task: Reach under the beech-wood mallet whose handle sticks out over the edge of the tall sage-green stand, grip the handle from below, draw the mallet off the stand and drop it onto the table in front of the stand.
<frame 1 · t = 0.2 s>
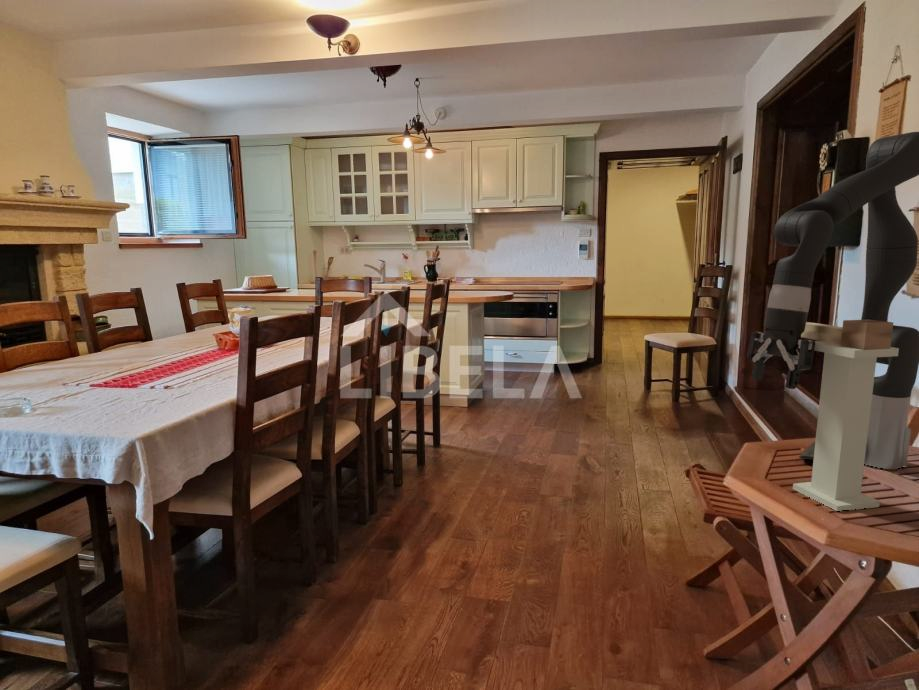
hand: (772, 384, 118), 22 cm above the table, tool pointing down, fingers open, 8 cm apart
stand: (834, 497, 115), on the table
mallet: (840, 342, 112), point 32 cm above the table, touching stand
decorative stone: (823, 459, 137), on the table
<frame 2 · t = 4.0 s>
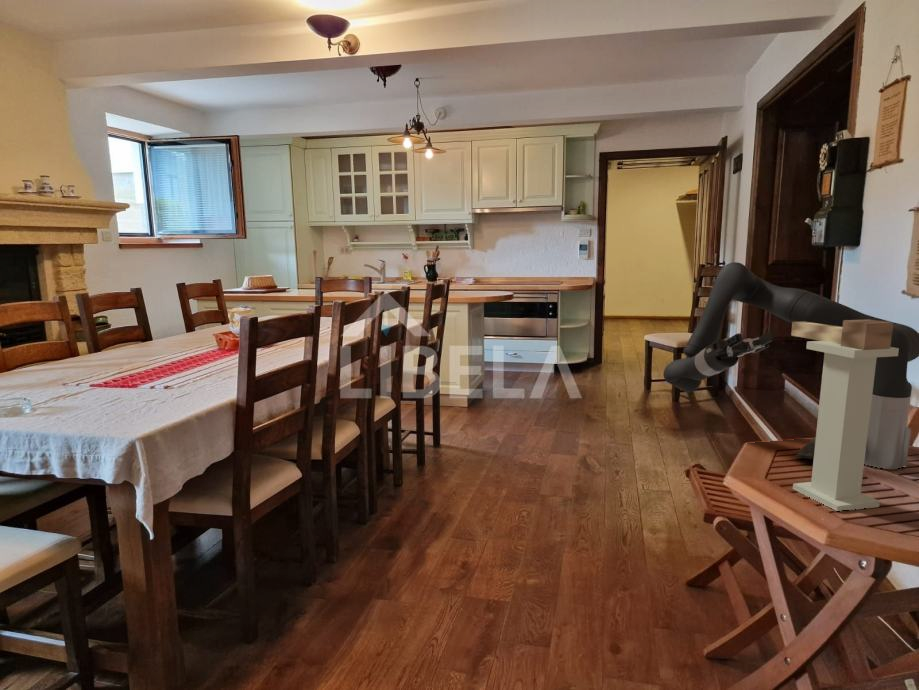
hand: (756, 336, 135), 30 cm above the table, tool pointing upward, fingers open, 8 cm apart
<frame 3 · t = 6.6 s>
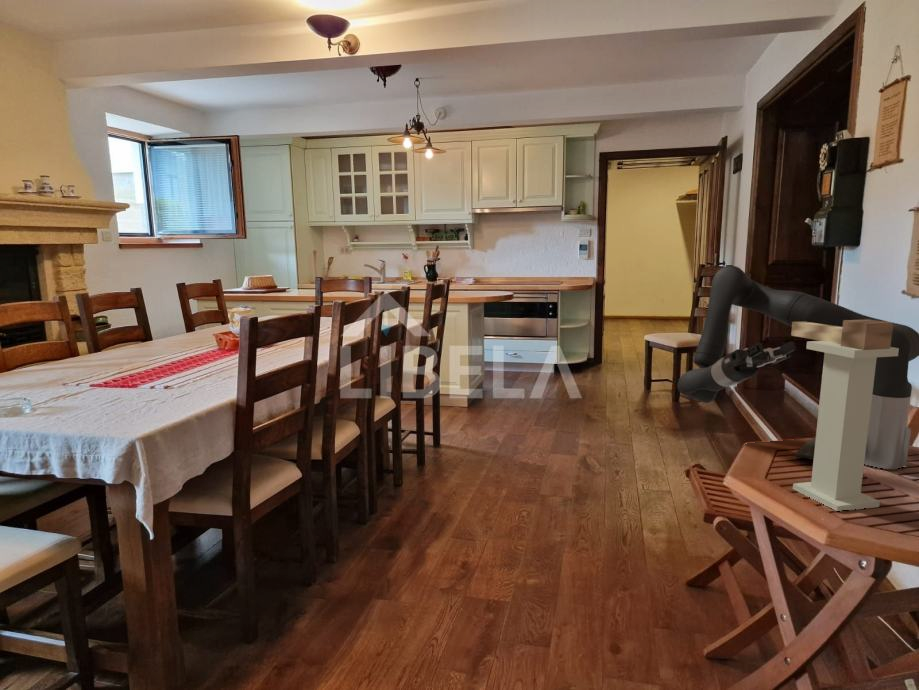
hand: (777, 346, 129), 29 cm above the table, tool pointing upward, fingers open, 8 cm apart
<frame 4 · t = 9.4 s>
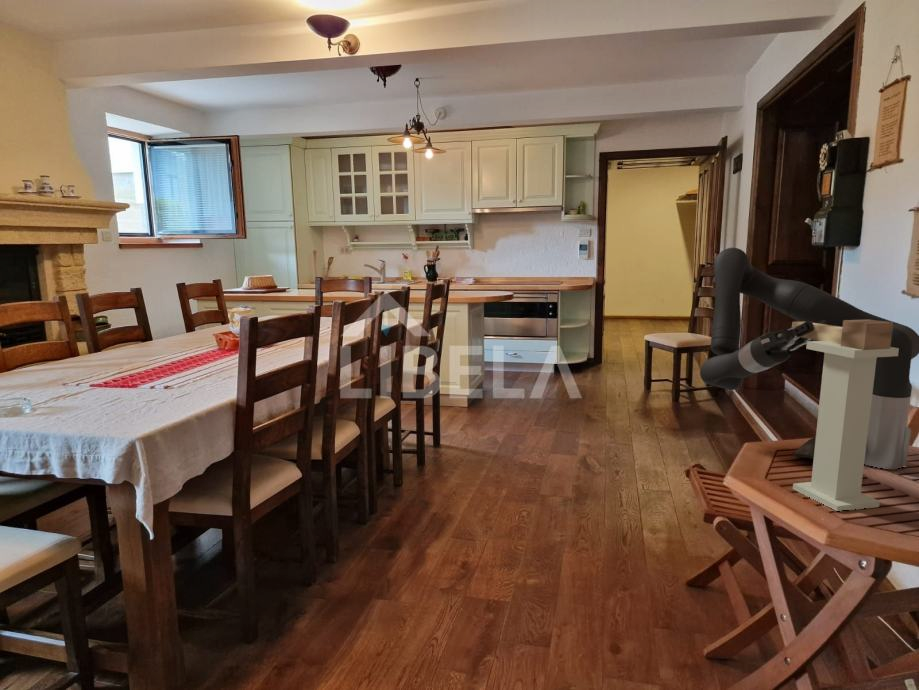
hand: (818, 324, 117), 35 cm above the table, tool pointing upward, fingers closed on mallet, 3 cm apart
mallet: (840, 342, 112), point 32 cm above the table, touching gripper, stand
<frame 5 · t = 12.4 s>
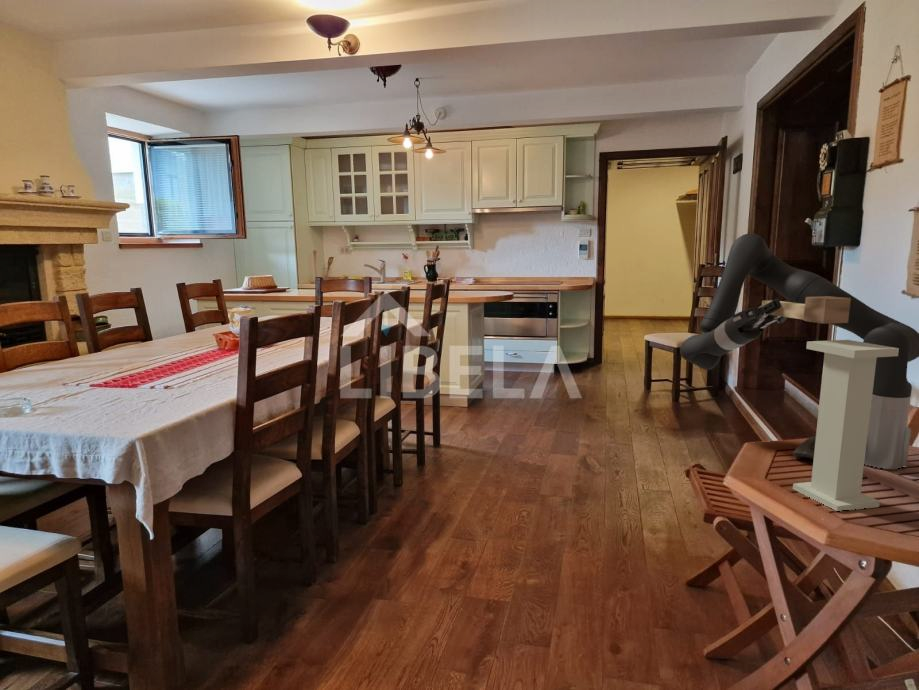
hand: (785, 302, 126), 39 cm above the table, tool pointing upward, fingers closed on mallet, 3 cm apart
mallet: (804, 318, 121), point 36 cm above the table, touching gripper
when the fingers open (27 cm above the table, at t = 15.8 s): mallet drops 24 cm, on the table.
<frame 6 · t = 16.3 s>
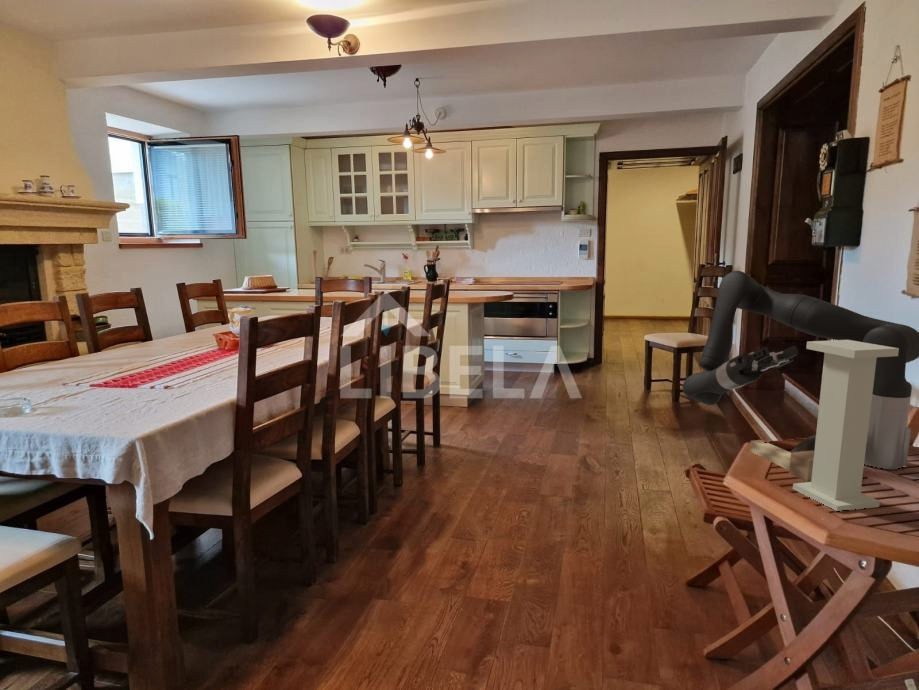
hand: (782, 350, 132), 27 cm above the table, tool pointing upward, fingers open, 7 cm apart
mallet: (789, 467, 131), on the table
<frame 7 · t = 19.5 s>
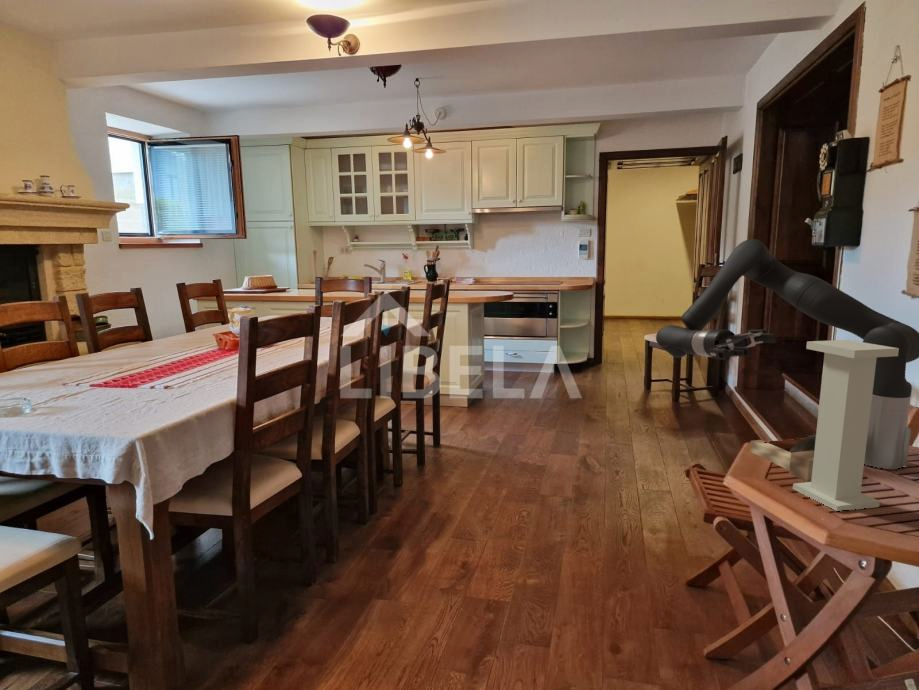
hand: (762, 345, 135), 28 cm above the table, tool horizontal, fingers open, 8 cm apart
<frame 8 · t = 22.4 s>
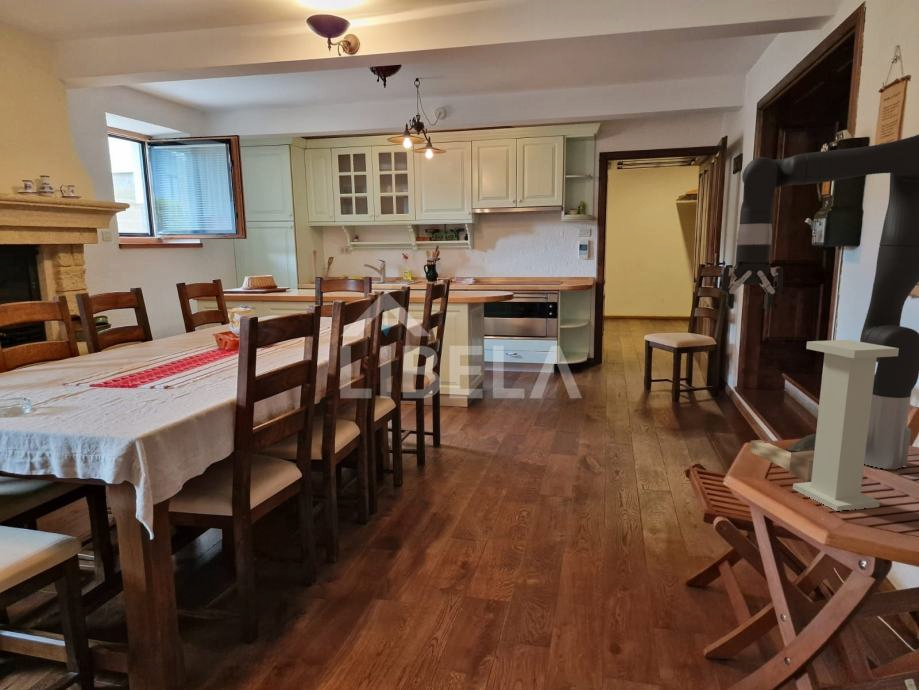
hand: (748, 308, 140), 36 cm above the table, tool pointing down, fingers open, 8 cm apart
at the end: mallet on the table; mallet moved 35.1 cm from its start; the gripper is holding nothing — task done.
